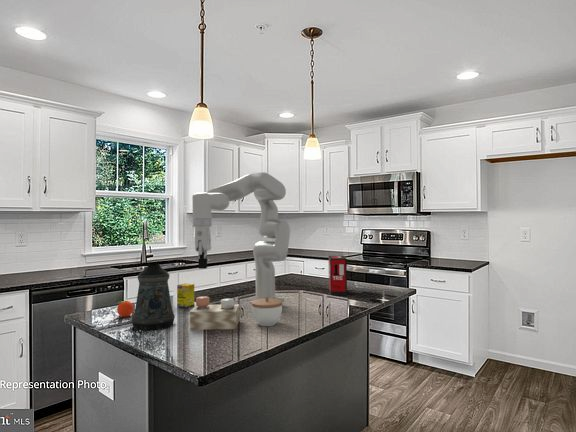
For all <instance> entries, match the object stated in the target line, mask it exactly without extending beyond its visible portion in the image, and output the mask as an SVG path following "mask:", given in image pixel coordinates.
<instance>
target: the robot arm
mask: <svg viewBox="0 0 576 432" xmlns="http://www.w3.org/2000/svg"><path fill="white" fill-rule="evenodd" d="M286 191H287V189H286V187H285V185H284V184H283V183H282V182H281V181H280V180H278V179H277V178H275V177H274V176H273V175H271V174H269V173H267V172H253V173H248V174H245V175H244V176H242V177H240V178H237V179H236V180H233V181H231V182H228V183H225V184H223V185H220V186H215V187H214V188H211V189H209V190H207V191H205V192H196V193H195V192H194V193H193V195H192V198H191V199H192V227H193V228H195V229H194V231H195V232H194V248H195V251H196V252H197V253H198V269H199V270H200V269H208V252H209V251H211V249H212V240H211V239H212V237H211V227H212V226H213V221H212V218H213V217H212V215H213V214H212V212H213V211H214V212H220V211H221V212H222V211H224V210H226V209H227V208H228V207H229V206H230V202H236V201H238V200H242V199H244V198H245V197H247V196H249V195H250V194H252V193H253V196H254V197H255V199H256V200H257V202H258V204H259V206H260V219H259V228H258V234H259V236H260V237H261V238H263V239H269V240H262V241H258V242H256V243H255V244H254V246H253V249H252V252H253V259H254V262H255V263H254V265H255V270H254V271H255V300H257V299H265V297H268V298H272V299H279V300H281V301H282V303H284V302H285V297H282V296H281V297H277V295H276V271H275V269H276V268H275V266H274V263H273V262H283V261H285V260H286V258H287V256H288V252H289V246H290V245H289V244H290V237H291V228H290V227H291V226H290V224H289V222H288V221H287V220H284V219H279V218H278V217H279V208H278V206H277V204H276V203H275V201H281V200H282V199H284V198H285V196H286V193H287V192H286ZM273 240H275V241H273Z"/></svg>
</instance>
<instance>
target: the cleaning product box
mask: <svg viewBox="0 0 576 432" xmlns="http://www.w3.org/2000/svg"><path fill="white" fill-rule="evenodd" d="M347 260H348V259H347V257H345V255H328V291H329V294H330V296H348V274H347V273H348V272H347V271H348V263H347V262H348V261H347Z"/></svg>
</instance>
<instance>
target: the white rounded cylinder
mask: <svg viewBox="0 0 576 432" xmlns="http://www.w3.org/2000/svg"><path fill="white" fill-rule="evenodd" d="M234 304H235V299H234V298H223V299H220V305H221V308H223V309H232V308H234Z"/></svg>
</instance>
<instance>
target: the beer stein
mask: <svg viewBox="0 0 576 432" xmlns="http://www.w3.org/2000/svg"><path fill="white" fill-rule="evenodd" d="M169 279H170V273H169V272H167V270H165V269H164V268H163V267H161V265H160V263H157V262H156V263H155V262H152V263H148V264H147V266H146V267H145V268H144V269H143V270H142V271H141V272H139V274H138V275H137V281H138V290H137V296H136V301H135V308H134V310H133V315H132V318H131V323H132V328H133V329H134V330H135V329H136V330H135V331H139V330H141V331H140V332H153V331H154V332H155V330H156V331H162V330H165V329H169V328H171V327H173V325H174V322H175V313H174V311H173V308H172V307H173V306H172V301H171V300H172V299H171V294H170V287H169V282H168V281H169Z"/></svg>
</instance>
